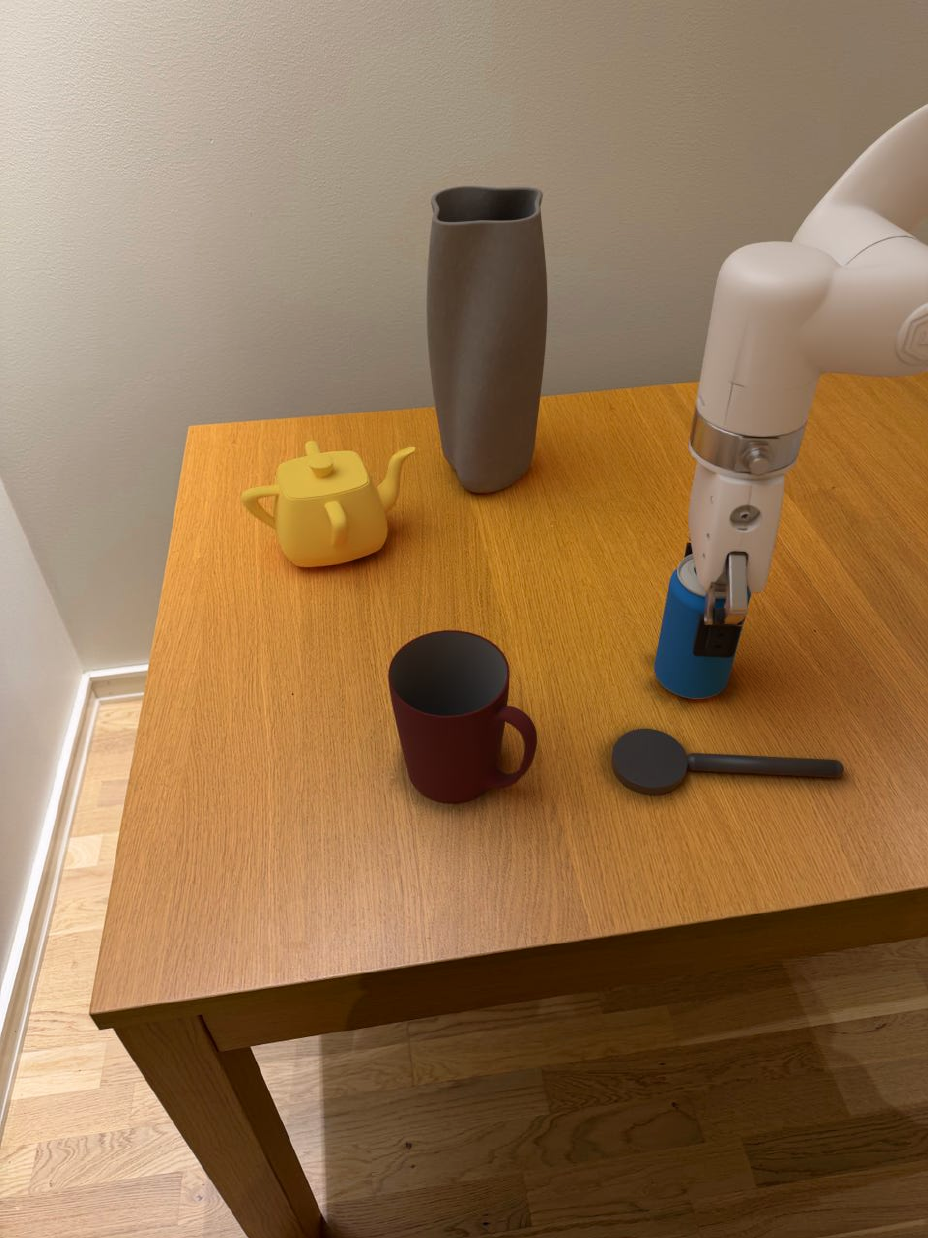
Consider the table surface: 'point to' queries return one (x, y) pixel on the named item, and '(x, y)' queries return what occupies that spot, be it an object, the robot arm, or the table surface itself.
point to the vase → (487, 329)
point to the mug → (455, 714)
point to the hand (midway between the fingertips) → (705, 615)
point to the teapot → (328, 506)
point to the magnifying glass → (696, 763)
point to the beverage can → (689, 638)
